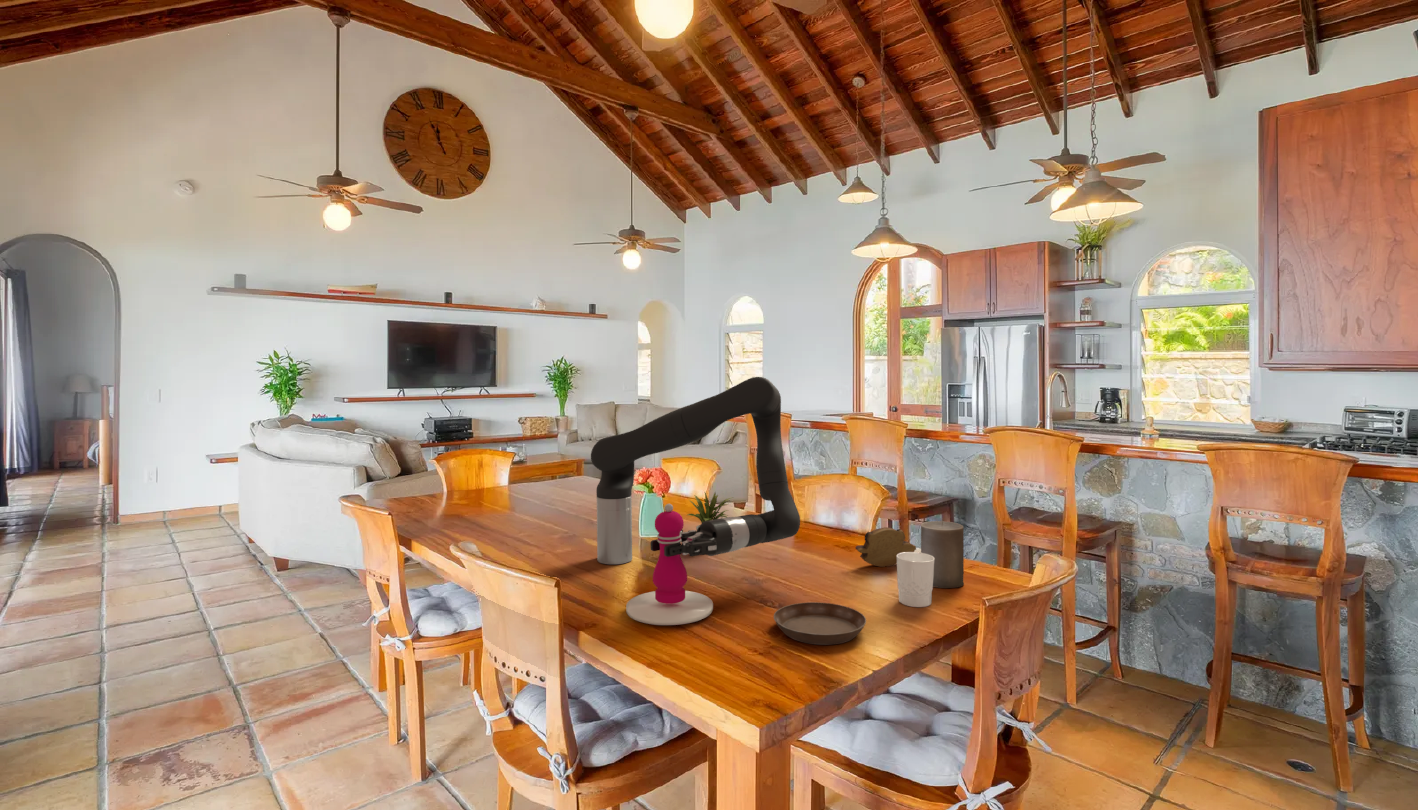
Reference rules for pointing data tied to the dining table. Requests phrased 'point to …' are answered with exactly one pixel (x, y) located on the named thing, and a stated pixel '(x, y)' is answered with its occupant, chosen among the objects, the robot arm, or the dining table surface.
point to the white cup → (915, 578)
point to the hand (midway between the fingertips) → (658, 548)
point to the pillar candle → (944, 551)
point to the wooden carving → (884, 546)
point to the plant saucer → (819, 622)
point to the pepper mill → (669, 559)
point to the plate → (669, 609)
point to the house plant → (709, 509)
